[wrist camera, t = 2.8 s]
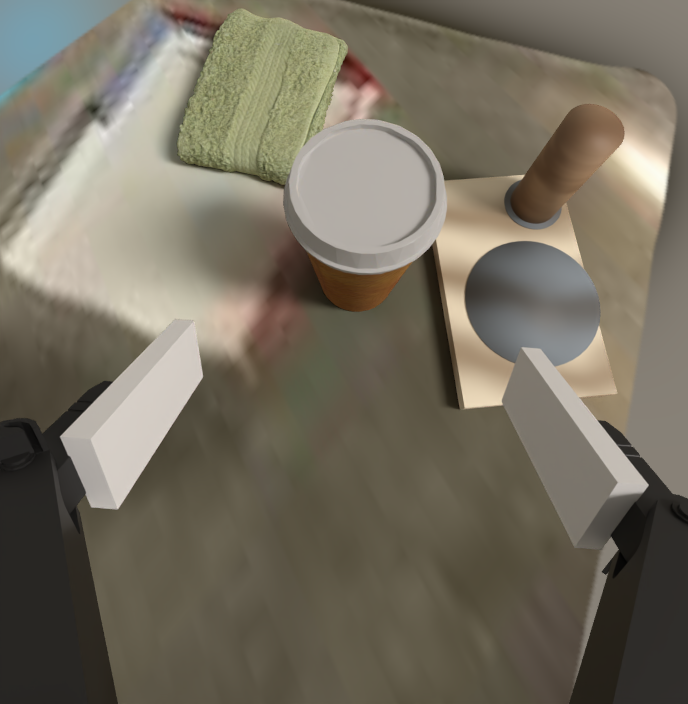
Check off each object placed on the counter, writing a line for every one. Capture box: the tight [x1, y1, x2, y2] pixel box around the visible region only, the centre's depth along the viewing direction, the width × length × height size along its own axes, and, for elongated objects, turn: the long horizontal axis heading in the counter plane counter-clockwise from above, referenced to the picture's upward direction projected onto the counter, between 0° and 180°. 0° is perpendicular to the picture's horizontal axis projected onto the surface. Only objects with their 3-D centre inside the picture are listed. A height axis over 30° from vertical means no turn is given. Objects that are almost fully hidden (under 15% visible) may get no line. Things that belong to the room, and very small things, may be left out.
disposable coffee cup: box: [283, 119, 447, 311], centre depth 26 cm, size 10×10×12 cm
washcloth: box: [176, 8, 348, 185], centre depth 35 cm, size 13×18×3 cm
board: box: [432, 175, 617, 410], centre depth 32 cm, size 20×12×1 cm, turn 5°
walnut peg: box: [510, 104, 624, 224], centre depth 29 cm, size 4×4×8 cm
